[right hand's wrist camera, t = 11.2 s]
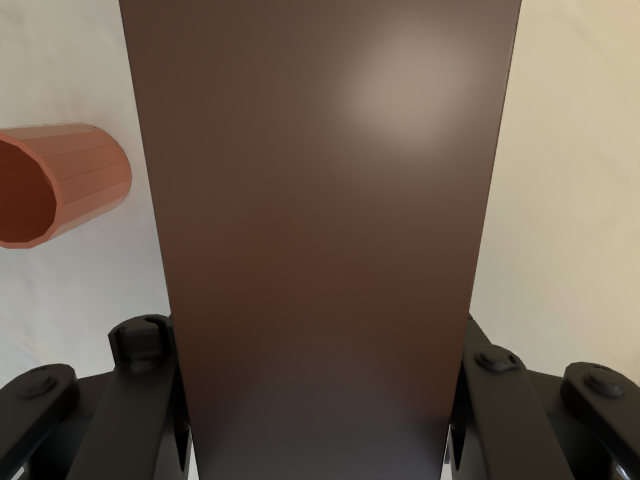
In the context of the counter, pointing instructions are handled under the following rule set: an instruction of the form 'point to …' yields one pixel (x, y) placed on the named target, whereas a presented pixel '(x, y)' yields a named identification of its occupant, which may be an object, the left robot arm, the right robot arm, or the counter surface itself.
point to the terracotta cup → (56, 180)
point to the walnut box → (319, 219)
